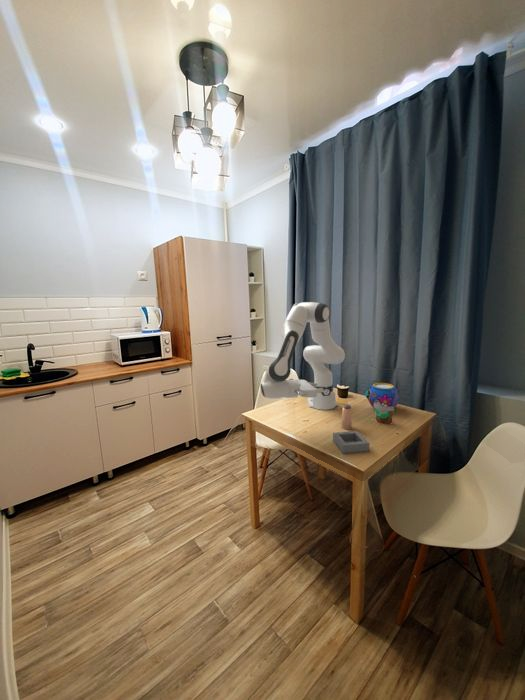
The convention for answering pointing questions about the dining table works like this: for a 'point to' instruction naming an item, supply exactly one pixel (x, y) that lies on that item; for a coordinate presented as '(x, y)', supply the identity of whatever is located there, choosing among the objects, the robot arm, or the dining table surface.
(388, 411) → the food container
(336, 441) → the holder
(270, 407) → the dining table surface
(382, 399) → the ceramic pot
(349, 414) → the spice jar
